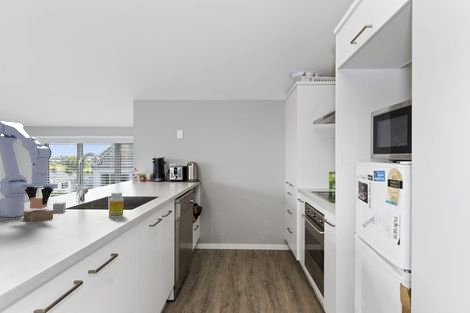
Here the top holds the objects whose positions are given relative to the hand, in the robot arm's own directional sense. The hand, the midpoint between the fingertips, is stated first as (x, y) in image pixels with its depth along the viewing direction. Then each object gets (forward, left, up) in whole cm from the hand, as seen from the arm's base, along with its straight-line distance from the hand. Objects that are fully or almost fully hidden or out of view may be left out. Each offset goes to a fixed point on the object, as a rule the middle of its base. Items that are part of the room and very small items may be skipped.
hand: (38, 204), depth 125 cm
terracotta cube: (0, 0, -1) cm, 1 cm away
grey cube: (-5, +17, -6) cm, 19 cm away
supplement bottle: (+28, +15, -7) cm, 32 cm away
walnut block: (0, 0, -7) cm, 7 cm away
